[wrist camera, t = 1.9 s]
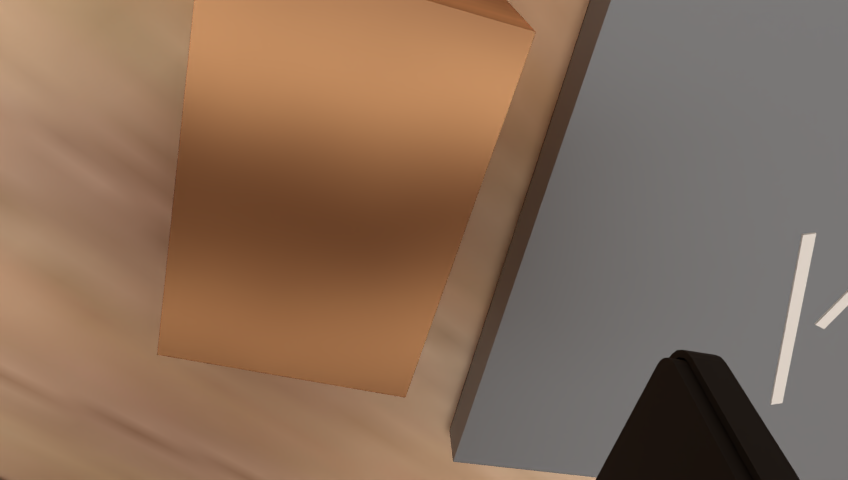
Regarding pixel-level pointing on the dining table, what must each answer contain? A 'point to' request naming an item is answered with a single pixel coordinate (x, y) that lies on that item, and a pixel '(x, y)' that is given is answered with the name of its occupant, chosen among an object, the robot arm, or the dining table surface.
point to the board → (677, 235)
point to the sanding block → (330, 179)
